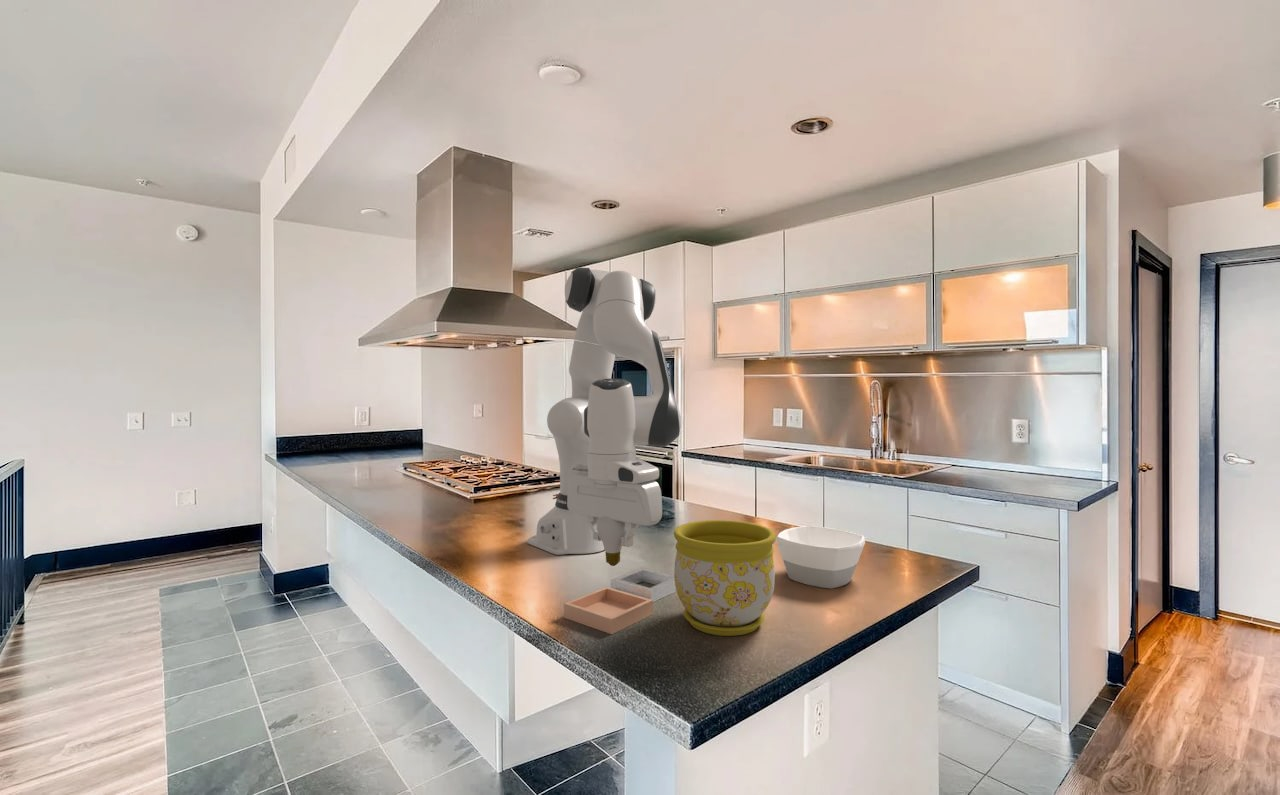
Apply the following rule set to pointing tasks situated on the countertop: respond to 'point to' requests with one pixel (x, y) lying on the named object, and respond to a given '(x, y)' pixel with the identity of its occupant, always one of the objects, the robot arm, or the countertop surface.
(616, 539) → the light bulb
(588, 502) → the robot arm
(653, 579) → the socket collar
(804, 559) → the bowl
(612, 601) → the tray
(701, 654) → the countertop surface
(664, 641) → the countertop surface
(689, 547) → the flowerpot
